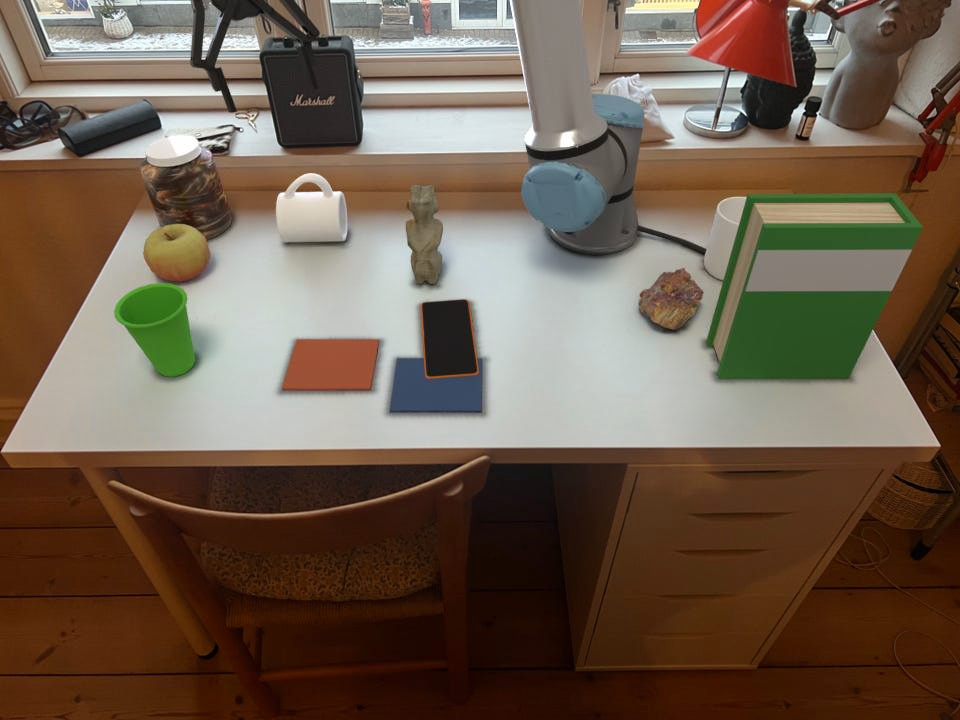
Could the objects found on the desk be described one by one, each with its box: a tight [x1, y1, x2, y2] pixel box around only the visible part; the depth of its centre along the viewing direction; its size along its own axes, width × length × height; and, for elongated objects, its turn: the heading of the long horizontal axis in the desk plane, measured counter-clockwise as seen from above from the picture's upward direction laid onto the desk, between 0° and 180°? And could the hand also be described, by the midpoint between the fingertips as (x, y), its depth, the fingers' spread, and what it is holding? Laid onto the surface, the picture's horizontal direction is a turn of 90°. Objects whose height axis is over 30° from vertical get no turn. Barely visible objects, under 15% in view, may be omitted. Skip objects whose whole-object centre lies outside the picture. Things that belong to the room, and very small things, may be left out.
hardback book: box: [705, 193, 924, 380], centre depth 90 cm, size 18×7×24 cm, turn 89°
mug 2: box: [703, 196, 747, 282], centre depth 109 cm, size 9×12×11 cm
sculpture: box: [404, 184, 444, 285], centre depth 108 cm, size 6×7×15 cm
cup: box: [113, 282, 196, 378], centre depth 95 cm, size 9×9×11 cm
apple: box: [142, 224, 211, 283], centre depth 112 cm, size 10×10×8 cm
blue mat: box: [389, 357, 483, 413], centre depth 95 cm, size 12×10×1 cm
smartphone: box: [420, 298, 479, 379], centre depth 102 cm, size 8×17×1 cm, turn 6°
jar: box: [139, 135, 233, 241], centre depth 120 cm, size 12×12×15 cm
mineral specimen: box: [637, 267, 705, 331], centre depth 104 cm, size 12×8×7 cm
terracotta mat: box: [281, 338, 380, 391], centre depth 98 cm, size 12×10×1 cm
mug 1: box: [275, 172, 348, 243], centre depth 117 cm, size 8×10×12 cm
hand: (274, 100), depth 112 cm, fingers open, 13 cm apart
